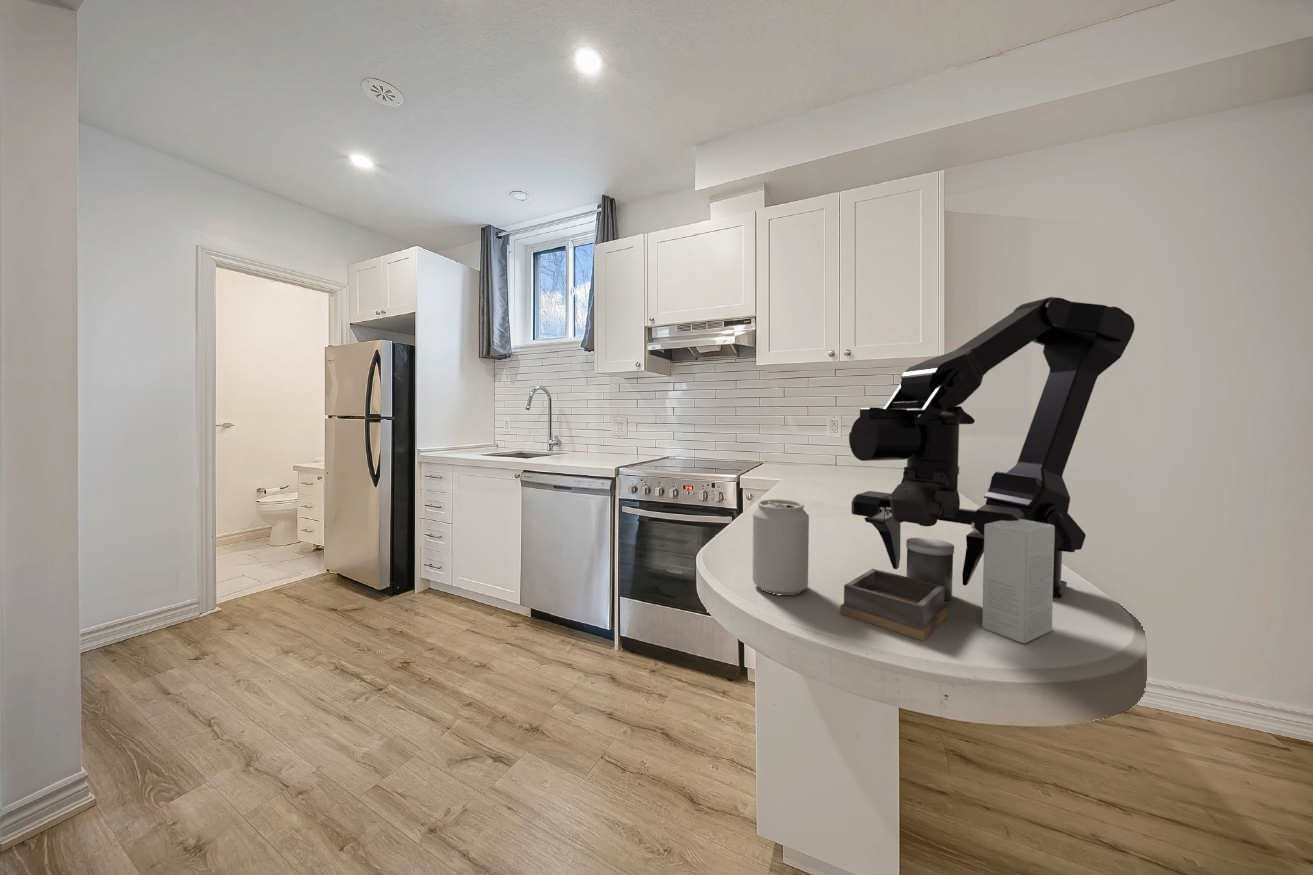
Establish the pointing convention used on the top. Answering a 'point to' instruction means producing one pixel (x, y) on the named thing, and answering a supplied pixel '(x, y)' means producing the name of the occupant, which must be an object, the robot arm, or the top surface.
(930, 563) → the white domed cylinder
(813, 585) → the top surface
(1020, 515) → the robot arm
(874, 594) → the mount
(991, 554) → the skincare box
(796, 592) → the can
